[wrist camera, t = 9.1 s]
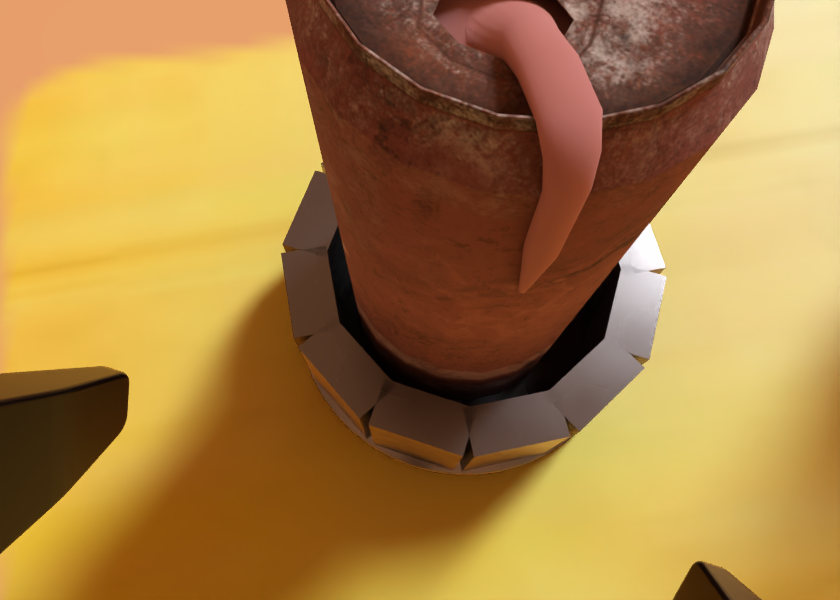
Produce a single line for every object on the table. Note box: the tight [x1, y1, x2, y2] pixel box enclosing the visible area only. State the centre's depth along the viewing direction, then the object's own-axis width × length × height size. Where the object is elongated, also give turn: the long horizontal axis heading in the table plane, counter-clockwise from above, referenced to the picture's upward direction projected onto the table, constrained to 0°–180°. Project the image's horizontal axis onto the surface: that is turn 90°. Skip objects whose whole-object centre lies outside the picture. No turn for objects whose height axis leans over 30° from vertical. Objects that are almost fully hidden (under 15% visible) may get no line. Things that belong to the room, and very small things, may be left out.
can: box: [286, 0, 774, 401], centre depth 14 cm, size 6×6×14 cm
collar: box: [281, 163, 666, 475], centre depth 19 cm, size 10×10×4 cm
